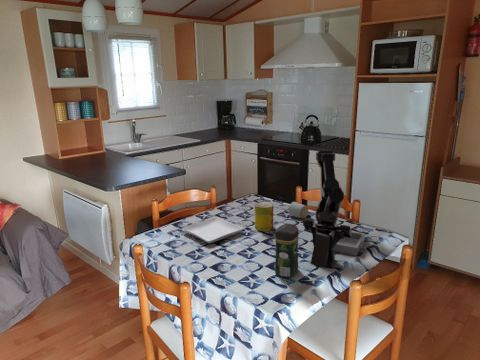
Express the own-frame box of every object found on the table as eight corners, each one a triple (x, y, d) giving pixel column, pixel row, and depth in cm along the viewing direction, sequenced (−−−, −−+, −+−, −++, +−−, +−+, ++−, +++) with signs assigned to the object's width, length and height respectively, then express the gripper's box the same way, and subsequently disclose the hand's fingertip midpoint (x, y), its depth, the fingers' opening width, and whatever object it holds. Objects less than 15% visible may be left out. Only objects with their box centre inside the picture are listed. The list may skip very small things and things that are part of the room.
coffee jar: (281, 264, 148) (281, 220, 143) (300, 268, 144) (301, 223, 139) (271, 275, 139) (271, 229, 134) (292, 280, 136) (292, 233, 131)
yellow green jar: (270, 232, 179) (270, 208, 176) (252, 230, 182) (252, 206, 179) (275, 225, 187) (275, 202, 184) (258, 223, 190) (257, 201, 187)
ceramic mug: (301, 220, 192) (301, 206, 190) (288, 217, 197) (288, 203, 195) (312, 215, 199) (312, 201, 198) (299, 212, 205) (299, 198, 203)
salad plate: (208, 248, 164) (208, 240, 163) (182, 234, 180) (181, 227, 179) (244, 234, 178) (244, 227, 177) (217, 222, 193) (216, 216, 192)
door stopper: (324, 268, 144) (325, 239, 141) (310, 263, 148) (311, 235, 144) (335, 259, 150) (336, 232, 147) (321, 255, 154) (322, 228, 151)
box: (323, 249, 160) (323, 241, 159) (333, 235, 173) (333, 228, 172) (356, 255, 153) (357, 247, 152) (364, 241, 167) (364, 233, 166)
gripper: (304, 200, 151) (294, 235, 144) (352, 206, 142) (343, 244, 135) (310, 212, 159) (301, 246, 153) (355, 219, 151) (347, 255, 144)
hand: (322, 247), depth 146 cm, fingers closed on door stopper, 6 cm apart
